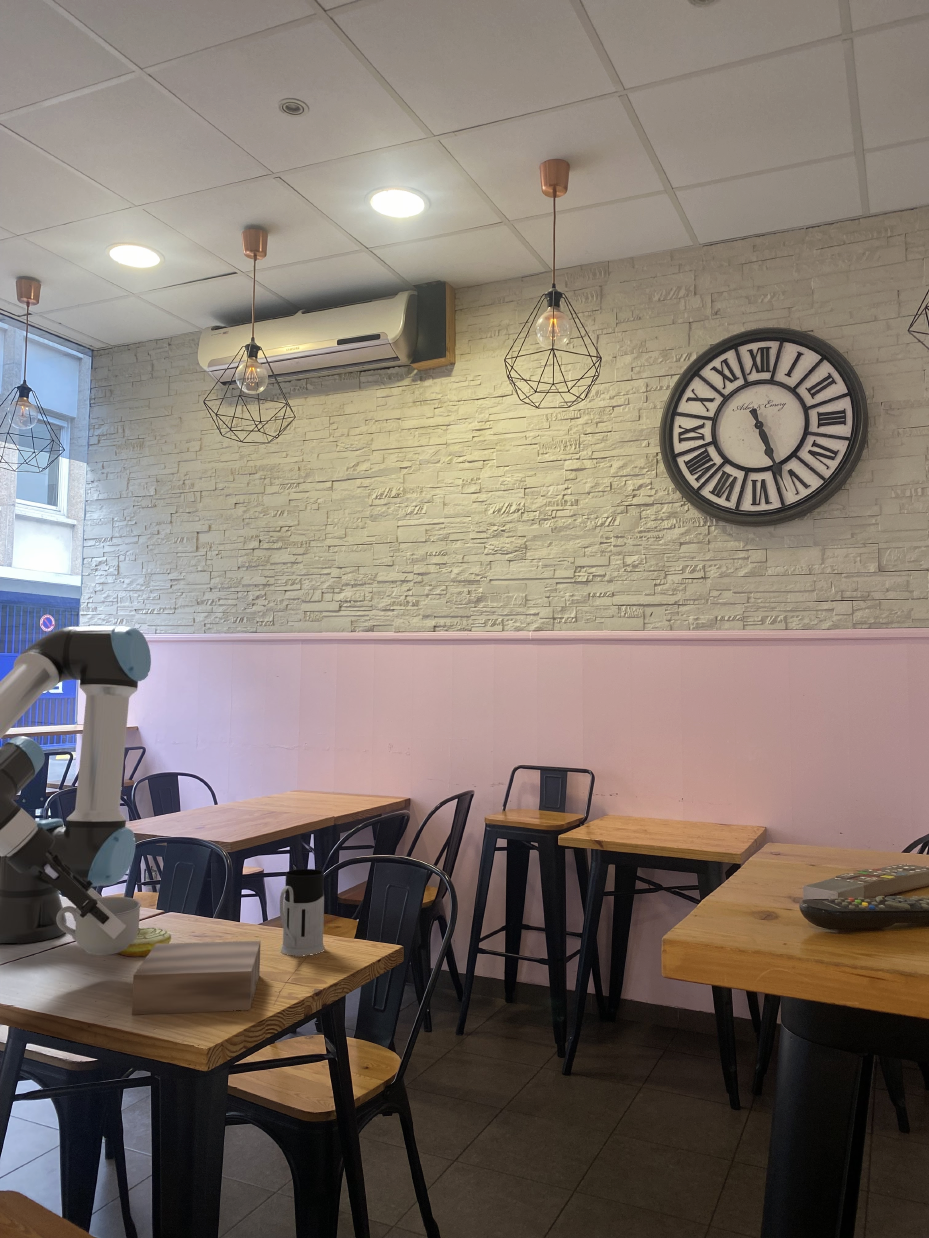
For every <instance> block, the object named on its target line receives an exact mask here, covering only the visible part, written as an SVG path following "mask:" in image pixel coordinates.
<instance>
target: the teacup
mask: <svg viewBox="0 0 929 1238" xmlns="http://www.w3.org/2000/svg"><path fill="white" fill-rule="evenodd" d="M96 900H97V902H98V901H99V902H100V903H101V904H102V905H103V906H104V907H105V908H107V909H108V910H109V911H110V912H111V913H112V914H113V915H114V916H116V917H117V918H118V919H119V920H120V921H121V922H122V923H124V924H125V925H126V927H125V928H124V929H123V930H122V931H121V932H120V933H119V934H118V936H117V937H116V938H115V939H113V938H112V937H111V936H110V935H109V934H107V933H106V932H105V931H104V930H103V929H102V928H101V927H99V926H98V925H97V924H96V923H95V922H94V921H93V920H91V919H90V918H89V917H88V916H87V915H86V916H85V917H84V918H82V917H81V916H80V914H81V911H80V910H79V909H78V908H77V907H76V906H72V905H66V906H64V907H63V908H62V909H61V910H60V911H59V912H58V914H57V917H56V921H57V925H58V926H59V928H60V929H61V930H63V931H64V932H65V933H66V934H67V935H70V936H71V937H72V940H74V941H76V943H77V945H78V946H79V947H80V948H81V949H83V950H84V951H85V952H86V953H87V954H89V955H94V956H95V955H97V956H107V955H114V954H119V953H118V952H121V951H123V950H124V949H126V948H127V947H128V946H129V945H130V944H131V943H132V942H133V941H134V940H135V939H136V937H137V934H138V929H139V928H140V927H139V926H140V912H141V911H140V910H141V906H142V903H141V901H140V900H138V899H136V898H133V897H126V896H108V897H107V896H106V897H103V898H97V899H96ZM87 902H88V901H86V902H85V903H84V904H83V906H84V905H85V904H86V903H87ZM64 913H65V914H66V913H68V914H69V913H70V914H71V915H72V917H73V921H74V922H75V928H72V927H70V926H69V925H68V924H65V923H64V921H63V915H64Z"/></svg>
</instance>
